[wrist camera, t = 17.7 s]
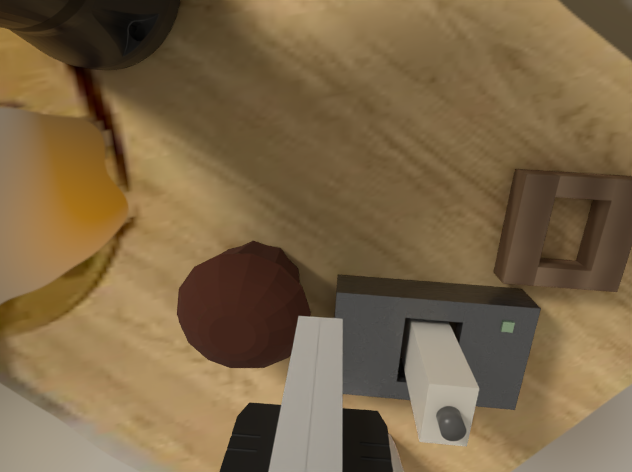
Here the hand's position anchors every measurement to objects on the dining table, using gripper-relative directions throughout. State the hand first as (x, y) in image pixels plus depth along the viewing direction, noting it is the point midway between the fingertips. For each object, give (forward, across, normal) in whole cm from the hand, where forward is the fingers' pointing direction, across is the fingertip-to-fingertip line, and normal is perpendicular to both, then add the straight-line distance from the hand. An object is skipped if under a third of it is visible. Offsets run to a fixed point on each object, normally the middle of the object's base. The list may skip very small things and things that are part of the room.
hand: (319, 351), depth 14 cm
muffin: (+25, -7, -10) cm, 28 cm away
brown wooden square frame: (+25, +21, -3) cm, 32 cm away
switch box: (+25, +10, -14) cm, 30 cm away
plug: (+25, +10, -14) cm, 30 cm away
